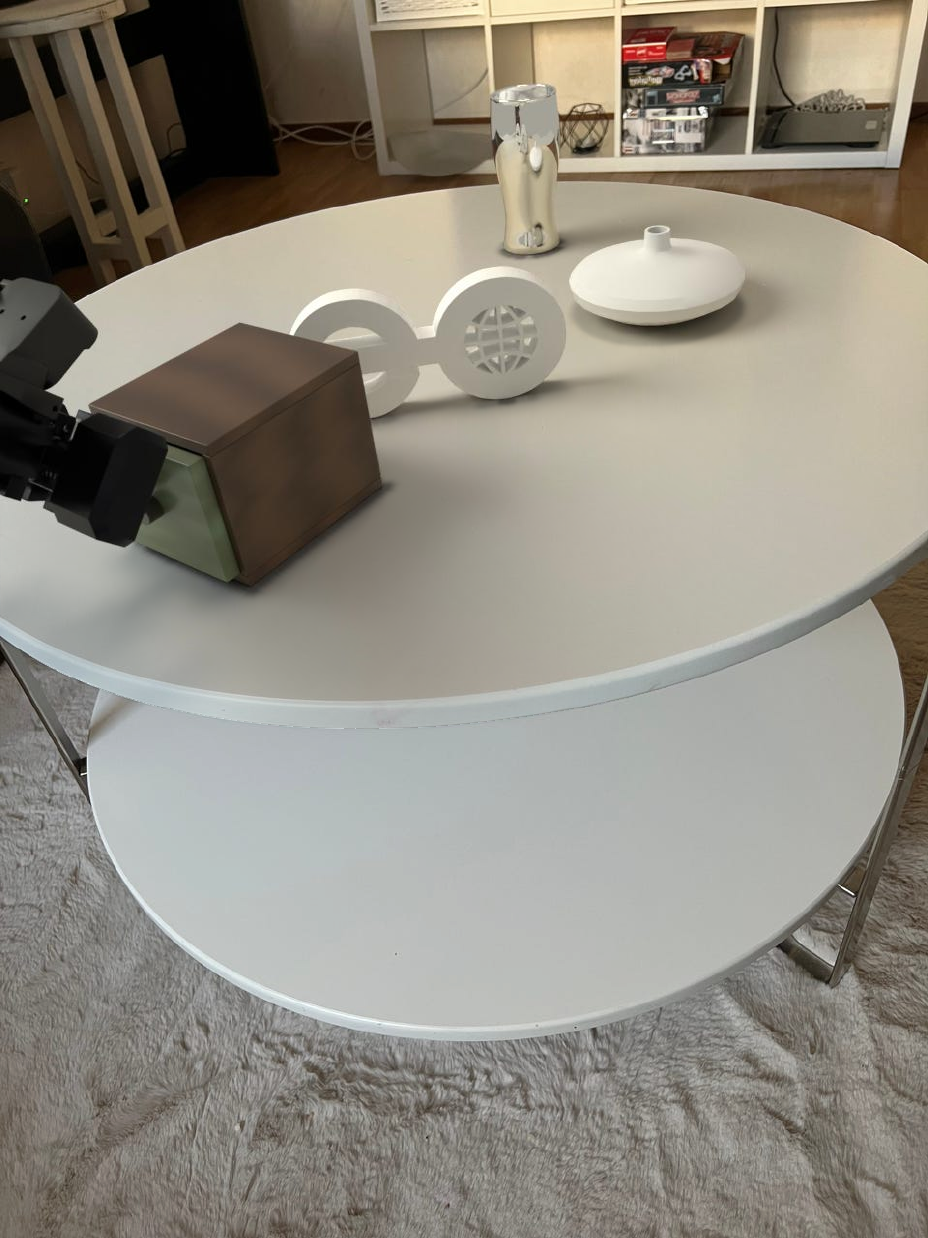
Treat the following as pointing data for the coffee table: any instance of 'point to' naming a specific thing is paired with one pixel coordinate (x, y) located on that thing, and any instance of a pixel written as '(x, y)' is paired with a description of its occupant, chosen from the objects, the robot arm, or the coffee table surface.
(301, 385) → the cabinet
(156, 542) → the drawer
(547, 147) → the beer glass
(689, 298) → the vase
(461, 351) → the white flat cutout piece
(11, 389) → the robot arm
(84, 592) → the coffee table surface
